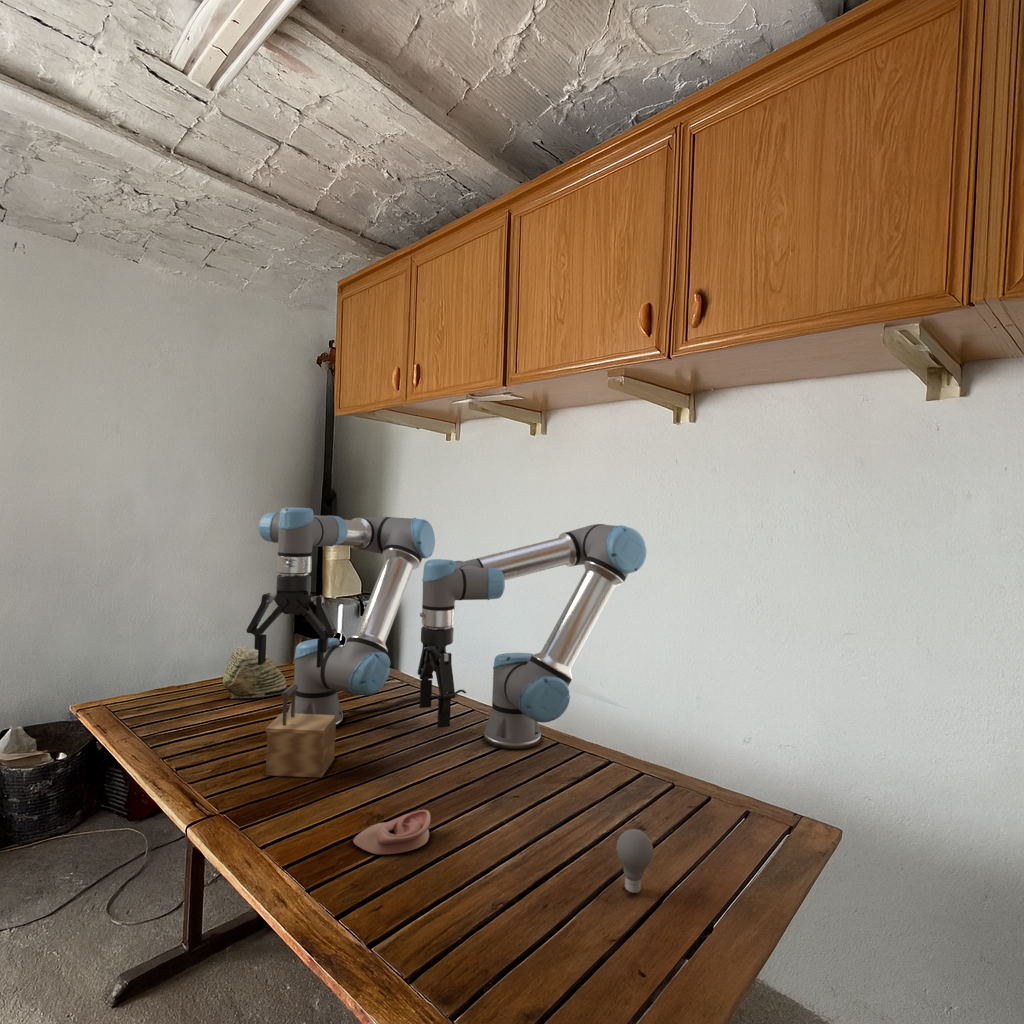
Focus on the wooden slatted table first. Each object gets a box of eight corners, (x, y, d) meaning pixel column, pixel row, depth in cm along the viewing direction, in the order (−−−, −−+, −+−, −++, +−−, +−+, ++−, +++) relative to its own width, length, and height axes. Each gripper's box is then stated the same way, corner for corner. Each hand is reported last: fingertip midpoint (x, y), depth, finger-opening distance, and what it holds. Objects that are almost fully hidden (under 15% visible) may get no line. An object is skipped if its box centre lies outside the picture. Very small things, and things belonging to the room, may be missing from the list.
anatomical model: (346, 827, 114) (372, 798, 125) (345, 849, 114) (372, 818, 125) (416, 839, 111) (436, 808, 122) (415, 861, 111) (436, 828, 123)
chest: (265, 775, 143) (267, 732, 143) (282, 756, 153) (283, 717, 153) (321, 777, 143) (323, 734, 143) (334, 759, 153) (336, 719, 153)
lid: (265, 732, 143) (266, 693, 142) (281, 716, 153) (283, 680, 153) (323, 734, 143) (324, 696, 142) (335, 718, 153) (337, 683, 153)
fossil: (218, 695, 195) (220, 647, 195) (278, 685, 208) (279, 640, 207) (228, 703, 189) (230, 653, 188) (289, 692, 201) (290, 645, 201)
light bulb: (610, 879, 108) (613, 822, 108) (644, 879, 109) (647, 822, 109) (619, 902, 102) (622, 840, 102) (655, 901, 103) (658, 840, 103)
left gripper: (233, 573, 143) (230, 666, 144) (343, 578, 143) (339, 671, 144) (247, 569, 151) (244, 658, 151) (351, 574, 151) (348, 663, 151)
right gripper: (407, 616, 157) (403, 701, 158) (439, 639, 134) (435, 738, 135) (436, 615, 160) (432, 698, 161) (472, 637, 138) (468, 733, 138)
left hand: (290, 665), depth 147 cm, fingers open, 13 cm apart
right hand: (434, 716), depth 148 cm, fingers open, 13 cm apart
